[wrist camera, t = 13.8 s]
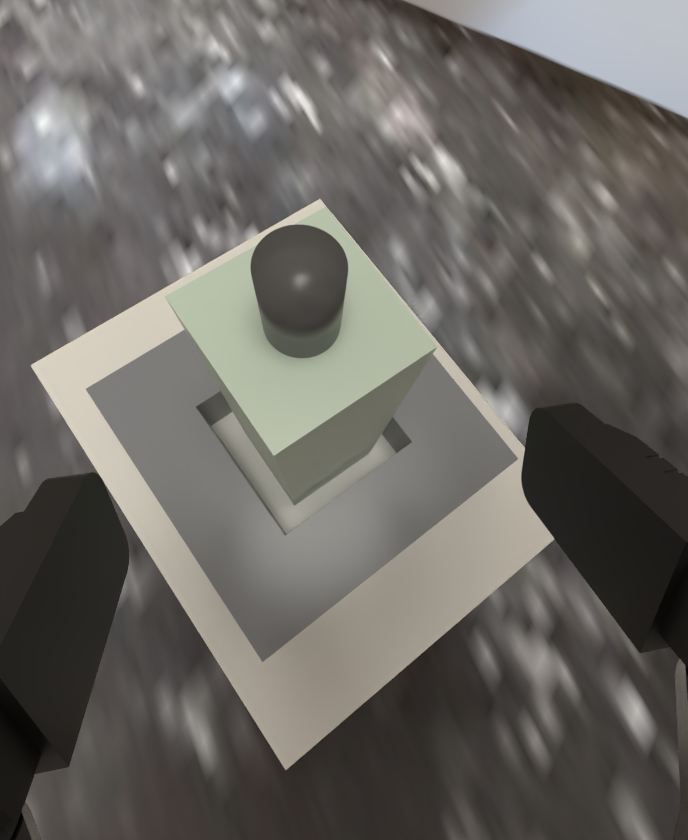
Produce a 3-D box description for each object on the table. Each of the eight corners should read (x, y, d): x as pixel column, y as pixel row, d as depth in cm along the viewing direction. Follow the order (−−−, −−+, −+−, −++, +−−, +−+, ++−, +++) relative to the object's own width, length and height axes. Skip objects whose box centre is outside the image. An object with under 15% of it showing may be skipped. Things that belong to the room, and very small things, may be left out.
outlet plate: (569, 517, 22) (623, 511, 18) (287, 759, 19) (281, 813, 15) (319, 211, 26) (320, 152, 22) (42, 373, 22) (-14, 337, 18)
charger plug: (368, 453, 21) (468, 297, 8) (294, 505, 21) (263, 431, 7) (318, 383, 22) (329, 130, 9) (244, 431, 21) (128, 234, 8)
